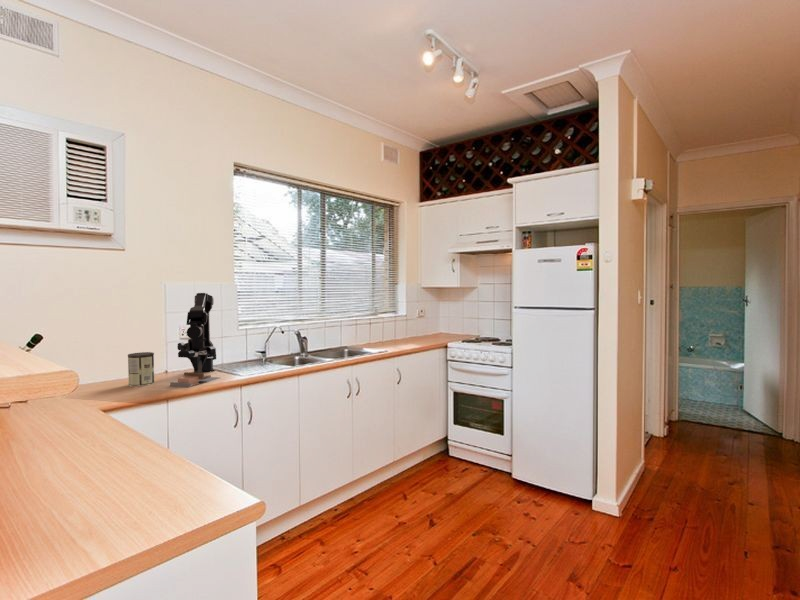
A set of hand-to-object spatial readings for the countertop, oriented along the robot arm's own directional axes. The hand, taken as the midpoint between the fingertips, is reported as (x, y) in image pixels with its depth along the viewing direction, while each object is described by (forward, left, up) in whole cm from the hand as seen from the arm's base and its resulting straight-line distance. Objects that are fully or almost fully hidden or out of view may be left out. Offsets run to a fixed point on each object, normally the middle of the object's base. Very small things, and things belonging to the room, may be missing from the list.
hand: (197, 370), depth 208 cm
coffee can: (+11, -21, -6) cm, 25 cm away
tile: (+6, 0, -5) cm, 8 cm away
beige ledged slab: (0, 0, -4) cm, 4 cm away
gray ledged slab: (0, 0, -6) cm, 6 cm away
